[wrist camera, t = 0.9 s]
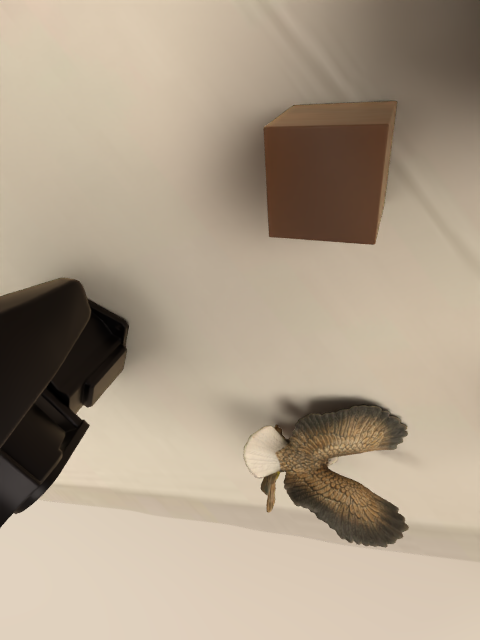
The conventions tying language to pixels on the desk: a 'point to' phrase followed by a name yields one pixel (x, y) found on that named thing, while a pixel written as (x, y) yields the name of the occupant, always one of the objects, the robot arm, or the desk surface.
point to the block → (329, 170)
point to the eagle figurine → (320, 482)
